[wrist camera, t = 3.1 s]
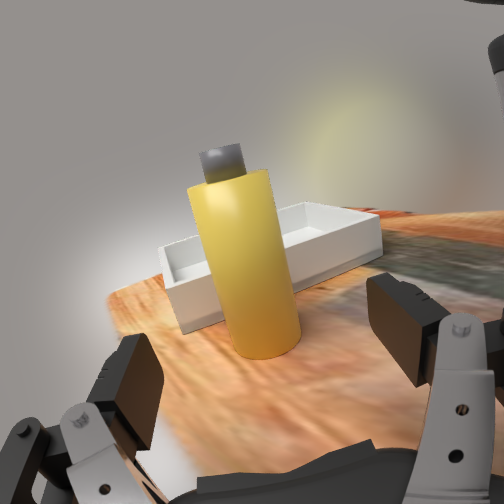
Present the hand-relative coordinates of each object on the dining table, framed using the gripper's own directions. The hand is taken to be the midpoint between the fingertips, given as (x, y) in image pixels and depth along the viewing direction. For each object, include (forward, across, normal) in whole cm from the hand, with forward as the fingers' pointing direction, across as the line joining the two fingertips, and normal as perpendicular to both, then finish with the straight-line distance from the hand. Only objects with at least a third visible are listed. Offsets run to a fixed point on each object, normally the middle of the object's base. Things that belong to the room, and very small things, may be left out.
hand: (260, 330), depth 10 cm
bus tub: (+24, -2, +8) cm, 26 cm away
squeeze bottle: (+11, 0, +8) cm, 13 cm away
